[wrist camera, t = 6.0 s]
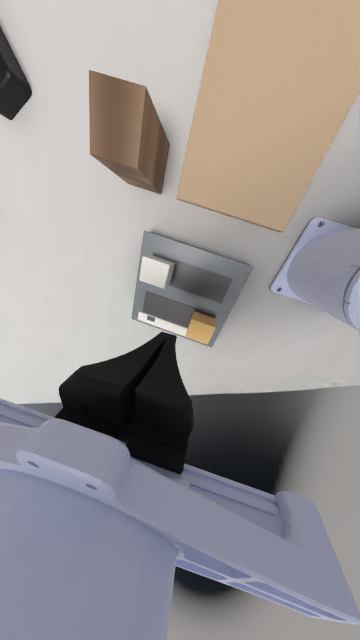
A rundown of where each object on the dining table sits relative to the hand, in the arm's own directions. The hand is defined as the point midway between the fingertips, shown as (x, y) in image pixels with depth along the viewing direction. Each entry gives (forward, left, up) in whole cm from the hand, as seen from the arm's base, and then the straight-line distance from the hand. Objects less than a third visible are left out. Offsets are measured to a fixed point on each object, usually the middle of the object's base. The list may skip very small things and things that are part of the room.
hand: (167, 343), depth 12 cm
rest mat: (-1, -18, -10) cm, 21 cm away
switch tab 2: (-3, +1, -8) cm, 9 cm away
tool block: (+9, -13, -10) cm, 19 cm away
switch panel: (+1, -1, -10) cm, 11 cm away
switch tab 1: (+4, -4, -8) cm, 10 cm away
